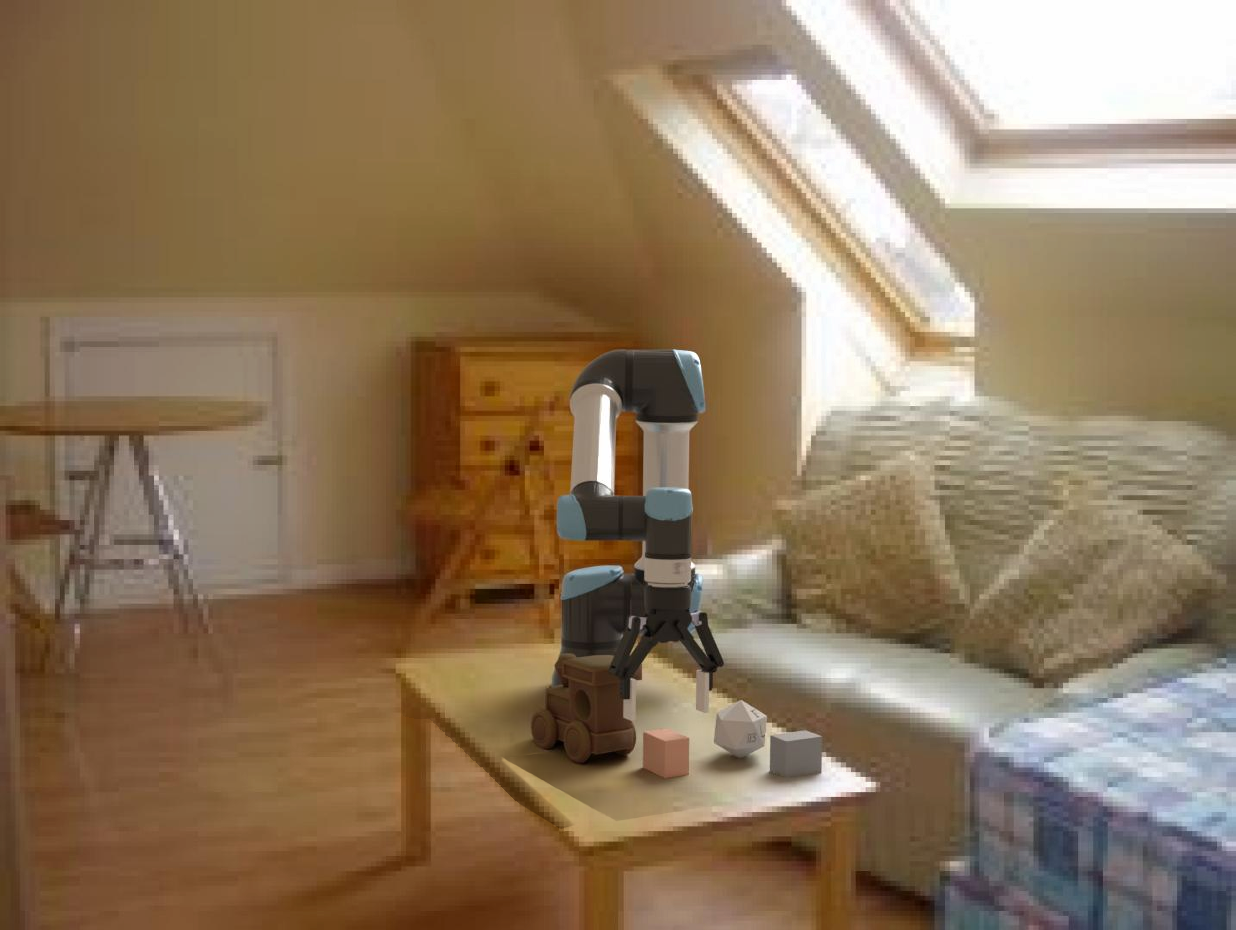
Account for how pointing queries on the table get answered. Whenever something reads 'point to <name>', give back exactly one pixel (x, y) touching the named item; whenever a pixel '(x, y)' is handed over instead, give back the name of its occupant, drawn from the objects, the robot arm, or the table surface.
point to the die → (740, 729)
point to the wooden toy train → (585, 710)
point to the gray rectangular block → (795, 754)
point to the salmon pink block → (666, 753)
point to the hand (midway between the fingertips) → (666, 715)
